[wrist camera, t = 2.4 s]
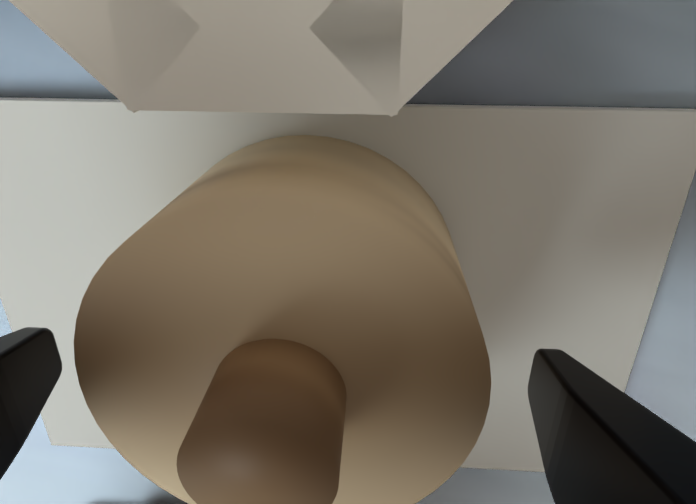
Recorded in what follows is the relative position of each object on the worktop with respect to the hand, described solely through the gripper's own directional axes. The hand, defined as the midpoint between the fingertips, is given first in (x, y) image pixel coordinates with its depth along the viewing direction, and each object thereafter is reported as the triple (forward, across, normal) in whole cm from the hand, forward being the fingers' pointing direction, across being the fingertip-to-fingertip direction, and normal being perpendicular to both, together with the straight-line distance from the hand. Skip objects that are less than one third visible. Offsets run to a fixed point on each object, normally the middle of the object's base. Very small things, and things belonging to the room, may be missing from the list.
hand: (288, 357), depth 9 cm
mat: (+3, 0, +1) cm, 3 cm away
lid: (+3, 0, 0) cm, 3 cm away
